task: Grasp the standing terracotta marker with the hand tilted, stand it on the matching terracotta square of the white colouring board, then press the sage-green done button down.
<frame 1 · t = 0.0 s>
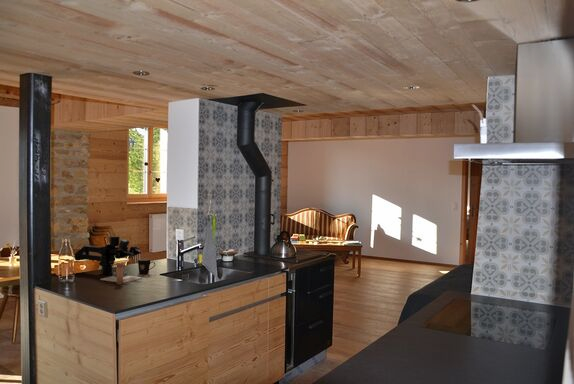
hand: (136, 253, 314), 17 cm above the counter, tool horizontal, fingers open, 9 cm apart
marker: (119, 283, 296), on the counter
done button: (119, 270, 316), point 4 cm above the counter, slide at 0.0 cm
coffee mug: (145, 274, 329), on the counter
board: (121, 279, 310), on the counter
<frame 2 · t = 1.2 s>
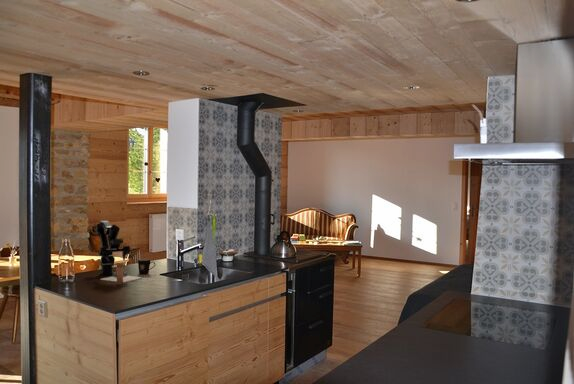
hand: (117, 260, 302), 13 cm above the counter, tool tilted 45°, fingers open, 9 cm apart
nothing on the counter moved.
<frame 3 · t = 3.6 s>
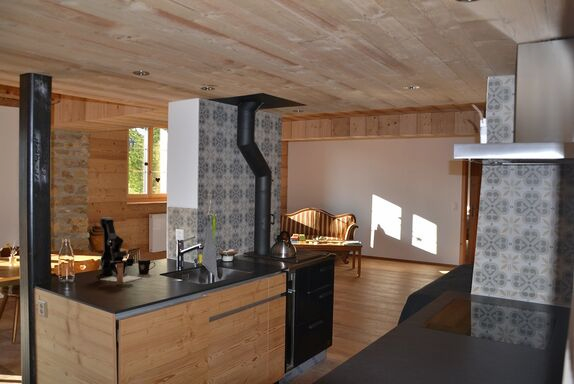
hand: (120, 273, 294), 7 cm above the counter, tool tilted 45°, fingers closed on marker, 4 cm apart
marker: (119, 283, 296), on the counter, touching gripper
everything else where it was.
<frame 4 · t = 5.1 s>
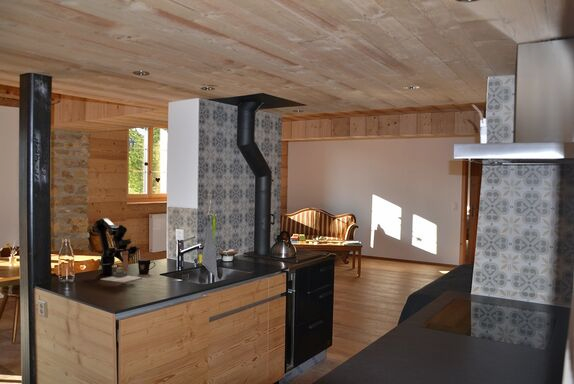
hand: (125, 261, 302), 13 cm above the counter, tool tilted 45°, fingers closed on marker, 4 cm apart
marker: (124, 271, 303), point 7 cm above the counter, touching gripper
everything else where it was.
when the fingers open (8 cm above the counter, at t = 6.5 s): marker stays where it is, resting on board.
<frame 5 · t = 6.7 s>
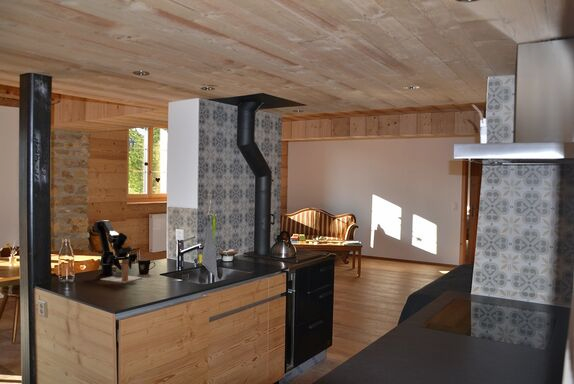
hand: (126, 269, 302), 8 cm above the counter, tool tilted 45°, fingers open, 6 cm apart
marker: (124, 280, 303), point 1 cm above the counter, touching board
everything else where it was.
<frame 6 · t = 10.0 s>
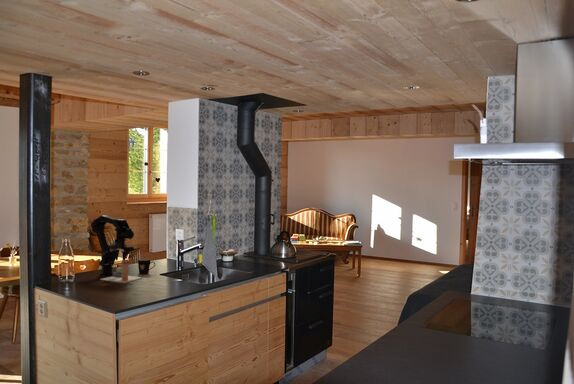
hand: (120, 260, 316), 11 cm above the counter, tool pointing down, fingers open, 6 cm apart
nothing on the counter moved.
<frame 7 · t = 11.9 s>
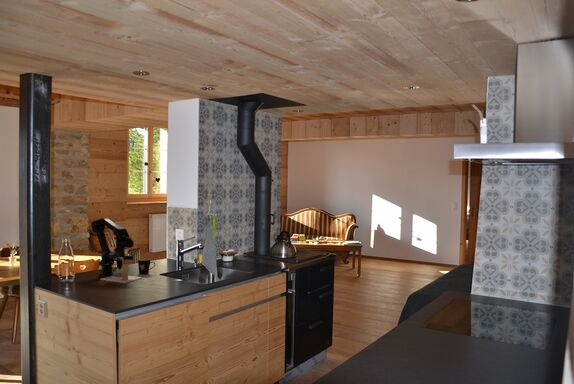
hand: (119, 269, 316), 5 cm above the counter, tool pointing down, fingers closed, pressing on done button
done button: (119, 272, 316), point 3 cm above the counter, slide at -1.1 cm, touching gripper
everything else where it was.
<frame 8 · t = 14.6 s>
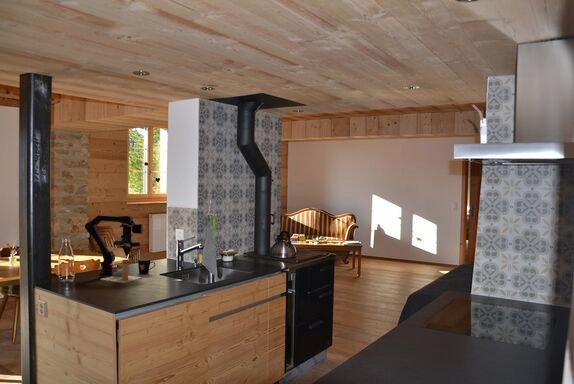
hand: (126, 255, 325), 13 cm above the counter, tool pointing down, fingers closed
done button: (119, 272, 316), point 3 cm above the counter, slide at -1.2 cm
everything else where it was.
at the end: marker inside the target area (0.0 cm from its centre), point 0.8 cm above the counter; done button slide at -1.2 cm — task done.
